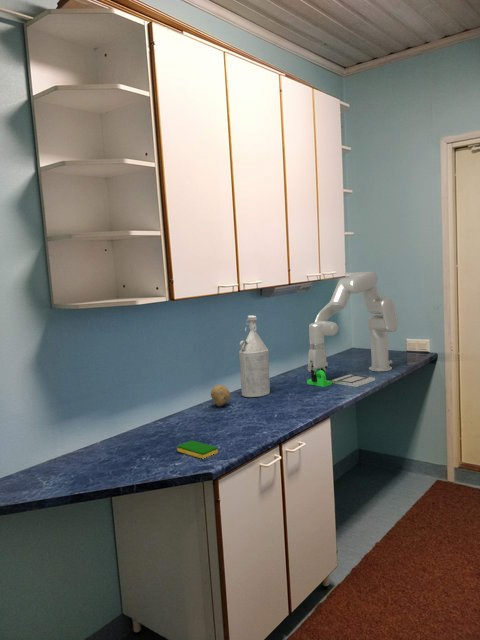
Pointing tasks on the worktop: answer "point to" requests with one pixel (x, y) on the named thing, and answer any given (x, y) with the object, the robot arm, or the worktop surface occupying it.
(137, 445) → the worktop surface
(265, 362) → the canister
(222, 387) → the natural sponge
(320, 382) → the mechanical part
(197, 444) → the dish sponge
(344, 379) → the flange
